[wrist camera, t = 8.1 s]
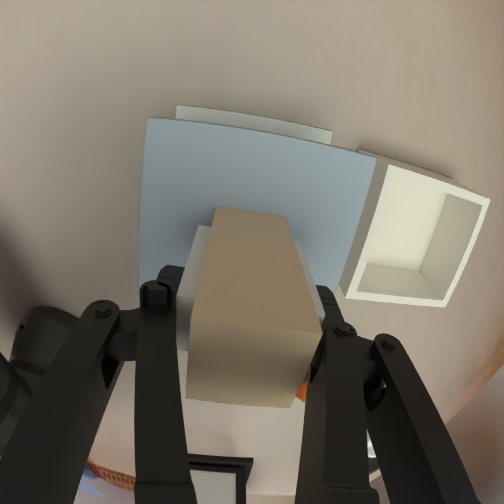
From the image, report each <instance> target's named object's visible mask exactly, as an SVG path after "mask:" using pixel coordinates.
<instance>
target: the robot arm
mask: <svg viewBox="0 0 504 504" xmlns="http://www.w3.org/2000/svg"><path fill="white" fill-rule="evenodd" d="M210 230H211V227H209V226H202V225H199V226H198V229H197V232H196V235H195V238H194V241H193V244H192V247H191V250H190V254H189V257H188V260H187V263H186V266H185V267H180V266H174V265H166V266H164V267H163V268H162V269H160V272H159V274H158V277H157V279H156V280H150V281H147V282H145V283H143V284H142V285H141V287H140V289H139V294H140V307H139V308H137V309H133V310H120V309H119V307H118V305H117V304H116V303H114V302H112V301H109V300H98V301H95V302H93V303H91V304H90V305H89V306H88V307H87V308H86V309H85V311H84V312H83V314H82V315H81V317H80V318H79V320H78V319H77V318H75V317H73V316H72V315H70V314H68V313H66V312H63V311H61V310H58V309H54V308H50V307H37V308H34V309H32V310H30V311H29V312H28V313H27V314H26V315H25V316H24V318H23V319H22V320H21V322H20V323H19V325H18V327H17V330H16V334H15V338H14V342H13V347H12V351H11V356H10V360H9V362H8V361H7V360H6V359H5V357H4V356H3V355H2V353H1V352H0V504H73V503H74V499H75V496H76V493H77V489H78V486H79V483H80V480H81V477H82V474H83V471H84V468H85V465H86V462H87V459H88V456H89V453H90V450H91V447H92V445H93V442H94V439H95V436H96V433H97V431H98V428H99V425H100V422H101V420H102V417H103V414H104V412H105V409H106V407H107V404H108V401H109V399H110V396H111V394H112V391H113V389H114V386H115V384H116V381H117V379H118V376H119V374H120V371H121V369H122V367H123V364H124V361H136V371H135V409H134V433H135V469H136V482H135V486H134V494H135V504H198V503H197V498H196V492H195V488H194V484H193V482H192V478H191V473H190V466H189V459H188V452H187V445H186V437H185V429H184V421H183V412H182V402H181V392H180V382H179V370H178V358H177V350H183V351H189V337H190V324H191V316H192V311H193V306H194V301H195V297H196V292H197V288H198V283H199V278H200V274H201V269H202V265H203V261H204V256H205V252H206V247H207V243H208V239H209V235H210ZM294 243H295V246H296V249H297V252H298V255H299V258H300V261H301V264H302V267H303V270H304V274H305V277H306V280H307V283H308V286H309V290H310V293H311V296H312V299H313V303H314V306H315V309H316V313H317V316H318V319H319V323H320V326H321V329H322V333H323V334H322V336H321V339H320V341H319V344H318V346H317V349H316V351H315V353H314V356H313V358H312V360H311V364H310V367H309V369H308V371H307V373H306V376H305V378H304V381H303V383H305V382H306V380H307V391H306V403H305V415H304V426H303V436H302V446H301V455H300V464H299V472H298V481H297V488H296V496H295V504H379V494H378V492H377V490H375V489H373V488H371V487H370V485H369V465H368V443H367V431H368V434H369V437H370V440H371V443H372V446H373V449H374V452H375V455H376V458H377V462H378V465H379V468H380V471H381V474H382V477H383V481H384V484H385V487H386V490H387V494H388V497H389V500H390V504H481V503H480V501H479V500H478V499H477V497H476V494H475V492H474V489H473V487H472V484H471V482H470V480H469V478H468V475H467V473H466V470H465V468H464V466H463V464H462V461H461V459H460V457H459V455H458V452H457V450H456V448H455V446H454V444H453V442H452V439H451V437H450V436H449V433H448V431H447V429H446V427H445V425H444V423H443V421H442V419H441V417H440V415H439V413H438V411H437V409H436V407H435V405H434V403H433V401H432V399H431V397H430V395H429V393H428V391H427V389H426V387H425V386H424V384H423V382H422V380H421V378H420V376H419V374H418V372H417V371H416V369H415V367H414V365H413V363H412V362H411V360H410V358H409V356H408V354H407V353H406V351H405V349H404V347H403V346H402V344H401V343H400V341H399V340H398V339H397V338H395V337H394V336H392V335H389V334H384V333H383V334H378V335H377V336H376V337H375V339H374V341H372V340H369V339H365V338H362V337H359V336H357V332H356V330H355V328H354V327H353V326H352V325H350V324H349V323H347V322H344V319H343V316H342V314H341V311H340V309H339V306H338V304H337V301H336V299H335V296H334V294H333V292H332V291H331V290H330V289H329V288H328V287H327V286H322V285H315V282H314V280H313V277H312V274H311V271H310V268H309V265H308V262H307V260H306V257H305V254H304V251H303V248H302V246H301V243H300V240H294ZM383 382H385V385H386V387H385V386H384V384H383Z"/></svg>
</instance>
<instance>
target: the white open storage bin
mask: <svg viewBox="0 0 504 504" xmlns="http://www.w3.org/2000/svg"><path fill="white" fill-rule="evenodd" d="M358 152H361V153H364V154H368V155H371V156H373V157H375V158H377V160H376V164H375V168H374V171H373V175H372V179H371V182H370V186H369V189H368V193H367V196H366V200H365V203H364V207H363V210H362V213H361V217H360V220H359V223H358V226H357V230H356V233H355V236H354V239H353V242H352V245H351V248H350V251H349V254H348V257H347V260H346V263H345V266H344V269H343V272H342V275H341V277H340V280H339V283H338V284H339V286H340V288H341V290H342V292H343V295H344V297H345V298H350V299H359V300H369V301H379V302H389V303H399V304H410V305H422V306H434V307H445V306H446V304H447V302H448V301H449V299H450V297H451V295H452V293H453V290H454V288H455V286H456V284H457V282H458V280H459V278H460V276H461V274H462V271H463V269H464V267H465V265H466V262H467V260H468V258H469V255H470V253H471V251H472V248H473V246H474V243H475V241H476V238H477V236H478V233H479V231H480V228H481V225H482V223H483V220H484V217H485V214H486V211H487V208H488V206H489V203H490V199H488V198H487V197H485V196H483V195H481V194H480V193H478V192H476V191H474V190H472V189H470V188H469V187H467V186H465V185H463V184H461V183H459V182H457V181H455V180H453V179H451V178H449V177H446V176H443V175H440V174H437V173H435V172H432V171H429V170H426V169H423V168H420V167H417V166H414V165H411V164H408V163H405V162H401V161H398V160H395V159H392V158H388V157H385V156H382V155H378V154H375V153H371V152H368V151H364V150H360V149H358Z"/></svg>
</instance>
